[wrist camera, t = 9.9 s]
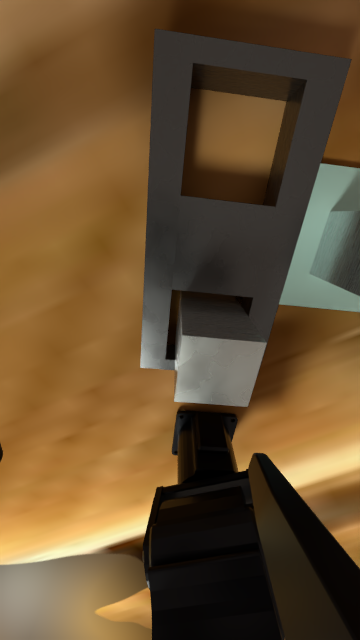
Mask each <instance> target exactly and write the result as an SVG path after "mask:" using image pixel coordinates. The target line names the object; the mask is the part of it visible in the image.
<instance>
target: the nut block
mask: <svg viewBox="0 0 360 640" xmlns="http://www.w3.org/2000/svg"><path fill="white" fill-rule="evenodd" d="M309 274H311V275H313V276H315V277H318V278H320V279H322V280H324V281H327V282H329V283H331V284H333V285H336V286H338V287H340V288H342V289H344V290H347V291H349V292H351V293H353V294H356V295H358V296H360V211H332V212H330V213H329V216H328V219H327V222H326V225H325V228H324V231H323V234H322V237H321V240H320V243H319V246H318V249H317V252H316V255H315V258H314V261H313V264H312V267H311V270H310V272H309Z"/></svg>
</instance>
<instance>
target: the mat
mask: <svg viewBox="0 0 360 640" xmlns="http://www.w3.org/2000/svg"><path fill="white" fill-rule="evenodd" d="M332 211H360V168H353V167H345V166H337V165H330V164H322V163H321V164H320V167H319V171H318V174H317V177H316V181H315V184H314V187H313V191H312V194H311V198H310V201H309V204H308V208H307V211H306V214H305V218H304V221H303V224H302V228H301V231H300V235H299V238H298V241H297V245H296V248H295V251H294V255H293V258H292V261H291V265H290V268H289V272H288V275H287V278H286V282H285V285H284V288H283V292H282V295H281V298H280V302H279V304H281V305H292V306H302V307H312V308H322V309H333V310H343V311H353V312H360V296H358V295H356V294H353V293H351V292H349V291H347V290H344V289H342V288H340V287H338V286H336V285H333V284H331V283H329V282H327V281H324V280H322V279H320V278H318V277H315V276H313V275H311V274H309V272H310V270H311V267H312V264H313V261H314V258H315V255H316V252H317V249H318V246H319V243H320V240H321V237H322V234H323V231H324V228H325V225H326V222H327V219H328V216H329V213H330V212H332Z"/></svg>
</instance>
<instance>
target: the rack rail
mask: <svg viewBox="0 0 360 640" xmlns="http://www.w3.org/2000/svg"><path fill="white" fill-rule="evenodd" d="M350 63H351V59H346V58H340V57H334V56H327V55H321V54H314V53H308V52H301V51H295V50H289V49H282V48H276V47H269V46H263V45H256V44H250V43H244V42H237V41H231V40H224V39H218V38H211V37H205V36H199V35H192V34H186V33H179V32H173V31H167V30H160V29H155V37H154V60H153V84H152V107H151V131H150V154H149V178H148V201H147V225H146V249H145V272H144V296H143V319H142V343H141V366H140V367H141V368H153V369H165V370H175V345H171V344H167V335H168V324H169V314H170V303H171V292H172V290H182V291H192V292H202V293H212V294H223V295H233V296H243V297H242V301H241V307H242V308H243V309H244V311H245V312H246V314H247V315H248V317H249V318H250V319H251V321H252V322H253V324H254V325H255V327H256V328H257V330H258V331H259V332H260V334H261V335H262V337H263V338H264V340H265V341H266V342H268V339H269V336H270V332H271V329H272V325H273V322H274V319H275V315H276V312H277V309H278V305H279V302H280V298H281V295H282V292H283V288H284V285H285V282H286V278H287V275H288V272H289V268H290V265H291V261H292V258H293V255H294V251H295V248H296V245H297V241H298V238H299V235H300V231H301V228H302V224H303V221H304V218H305V214H306V211H307V208H308V204H309V201H310V198H311V194H312V191H313V187H314V184H315V181H316V177H317V174H318V171H319V167H320V164H321V160H322V157H323V154H324V150H325V147H326V144H327V140H328V137H329V134H330V130H331V127H332V123H333V120H334V117H335V113H336V110H337V107H338V103H339V100H340V97H341V93H342V90H343V86H344V83H345V80H346V76H347V73H348V70H349V66H350ZM191 88H198V89H205V90H212V91H219V92H226V93H233V94H240V95H247V96H254V97H261V98H268V99H275V100H282V101H287V102H286V106H285V111H284V115H283V119H282V124H281V128H280V133H279V137H278V142H277V146H276V150H275V155H274V159H273V164H272V168H271V173H270V177H269V181H268V186H267V190H266V195H265V199H264V204H263V205H255V204H247V203H239V202H230V201H222V200H214V199H205V198H197V197H188V196H181V186H182V175H183V164H184V154H185V143H186V132H187V121H188V111H189V100H190V89H191ZM266 346H267V344H266ZM265 349H266V347H265ZM264 352H265V351H264ZM263 356H264V354H263ZM262 359H263V357H262ZM261 362H262V361H261ZM260 366H261V364H260ZM259 369H260V367H259ZM258 373H259V371H258ZM257 376H258V374H257Z"/></svg>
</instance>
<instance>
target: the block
mask: <svg viewBox="0 0 360 640" xmlns="http://www.w3.org/2000/svg"><path fill="white" fill-rule="evenodd" d="M266 344H267V342H266V341H265V340H264V338H263V337H262V335H261V334H260V332H259V331H258V330H257V328H256V327H255V325H254V324H253V322H252V321H251V319H250V318H249V317H248V315H247V314H246V312H245V311H244V309H243V308H242V307H241V305H240V304H239V302H238V301H237V299H236V298H235V297H234V296H233V295H223V294H212V293H202V292H192V291H182V290H181V291H180V300H179V310H178V319H177V328H176V337H175V386H174V401H175V402H188V403H202V404H215V405H229V406H242V407H248V405H249V401H250V398H251V394H252V391H253V388H254V384H255V381H256V378H257V374H258V371H259V367H260V364H261V361H262V357H263V354H264V351H265V347H266Z"/></svg>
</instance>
